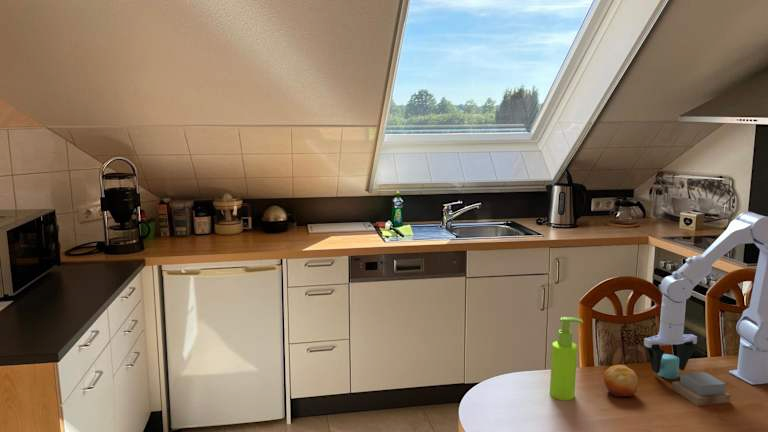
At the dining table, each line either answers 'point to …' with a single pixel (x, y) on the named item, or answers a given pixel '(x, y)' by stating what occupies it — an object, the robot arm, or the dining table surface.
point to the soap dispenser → (564, 362)
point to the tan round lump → (621, 380)
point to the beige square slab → (699, 399)
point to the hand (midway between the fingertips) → (668, 370)
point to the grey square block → (702, 383)
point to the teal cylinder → (669, 366)
